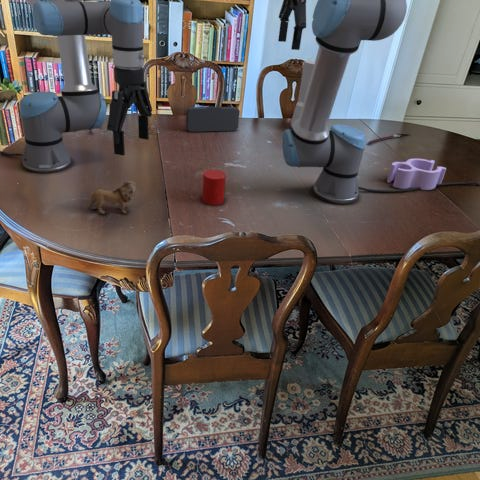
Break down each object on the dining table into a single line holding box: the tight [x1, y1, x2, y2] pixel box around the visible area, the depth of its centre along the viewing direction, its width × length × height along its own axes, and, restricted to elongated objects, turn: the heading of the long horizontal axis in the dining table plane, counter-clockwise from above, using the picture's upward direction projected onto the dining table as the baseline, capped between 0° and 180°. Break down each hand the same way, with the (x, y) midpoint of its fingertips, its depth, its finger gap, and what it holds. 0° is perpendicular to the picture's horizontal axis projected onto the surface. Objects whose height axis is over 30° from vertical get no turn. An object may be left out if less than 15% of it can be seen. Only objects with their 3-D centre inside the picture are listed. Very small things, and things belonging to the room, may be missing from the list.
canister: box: [201, 169, 227, 206], centre depth 147 cm, size 7×7×9 cm
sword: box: [367, 133, 409, 145], centre depth 213 cm, size 31×3×1 cm, turn 126°
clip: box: [386, 157, 447, 191], centre depth 173 cm, size 20×12×7 cm, turn 109°
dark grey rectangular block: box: [185, 106, 241, 133], centre depth 199 cm, size 23×3×10 cm, turn 108°
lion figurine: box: [85, 180, 137, 215], centre depth 135 cm, size 15×5×9 cm, turn 110°
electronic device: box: [290, 58, 316, 128], centre depth 206 cm, size 12×8×30 cm, turn 148°
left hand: (132, 146), depth 130 cm, fingers open, 13 cm apart
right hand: (288, 45), depth 164 cm, fingers open, 13 cm apart
